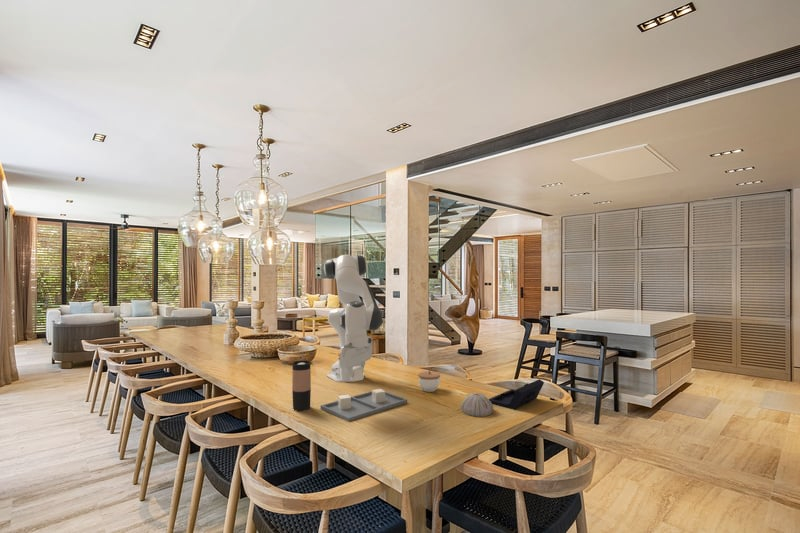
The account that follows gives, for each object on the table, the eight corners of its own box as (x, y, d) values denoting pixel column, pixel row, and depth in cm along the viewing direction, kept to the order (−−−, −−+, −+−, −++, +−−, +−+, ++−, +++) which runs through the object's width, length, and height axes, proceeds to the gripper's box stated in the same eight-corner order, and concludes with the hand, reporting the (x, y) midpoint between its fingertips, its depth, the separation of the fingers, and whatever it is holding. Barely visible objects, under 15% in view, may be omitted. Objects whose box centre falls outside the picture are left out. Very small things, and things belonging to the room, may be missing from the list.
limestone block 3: (371, 400, 179) (371, 390, 179) (380, 398, 181) (380, 388, 181) (376, 403, 175) (376, 393, 175) (385, 401, 177) (385, 391, 177)
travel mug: (289, 409, 171) (288, 362, 171) (304, 404, 176) (304, 359, 176) (298, 413, 165) (298, 365, 165) (314, 409, 171) (314, 362, 171)
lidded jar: (439, 394, 190) (438, 374, 190) (416, 392, 193) (416, 373, 193) (441, 387, 201) (441, 368, 201) (420, 386, 203) (420, 367, 203)
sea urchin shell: (492, 408, 171) (492, 390, 171) (494, 420, 157) (494, 400, 157) (461, 407, 173) (461, 388, 173) (460, 418, 160) (460, 398, 160)
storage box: (511, 394, 190) (511, 373, 190) (544, 402, 179) (544, 380, 179) (487, 405, 176) (487, 382, 176) (521, 414, 164) (521, 390, 164)
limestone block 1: (338, 406, 172) (338, 395, 172) (348, 404, 173) (348, 394, 173) (340, 409, 167) (340, 398, 167) (351, 408, 169) (351, 397, 169)
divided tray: (320, 410, 169) (320, 405, 169) (378, 393, 191) (378, 389, 191) (348, 423, 155) (348, 418, 155) (407, 404, 177) (407, 399, 177)
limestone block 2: (349, 377, 166) (349, 367, 166) (360, 377, 167) (360, 366, 167) (351, 380, 161) (351, 369, 161) (362, 379, 163) (362, 368, 163)
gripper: (349, 346, 153) (349, 382, 153) (374, 337, 172) (374, 369, 172) (335, 345, 156) (335, 380, 156) (361, 336, 175) (361, 368, 175)
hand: (356, 374), depth 164 cm, fingers closed on limestone block 2, 6 cm apart
